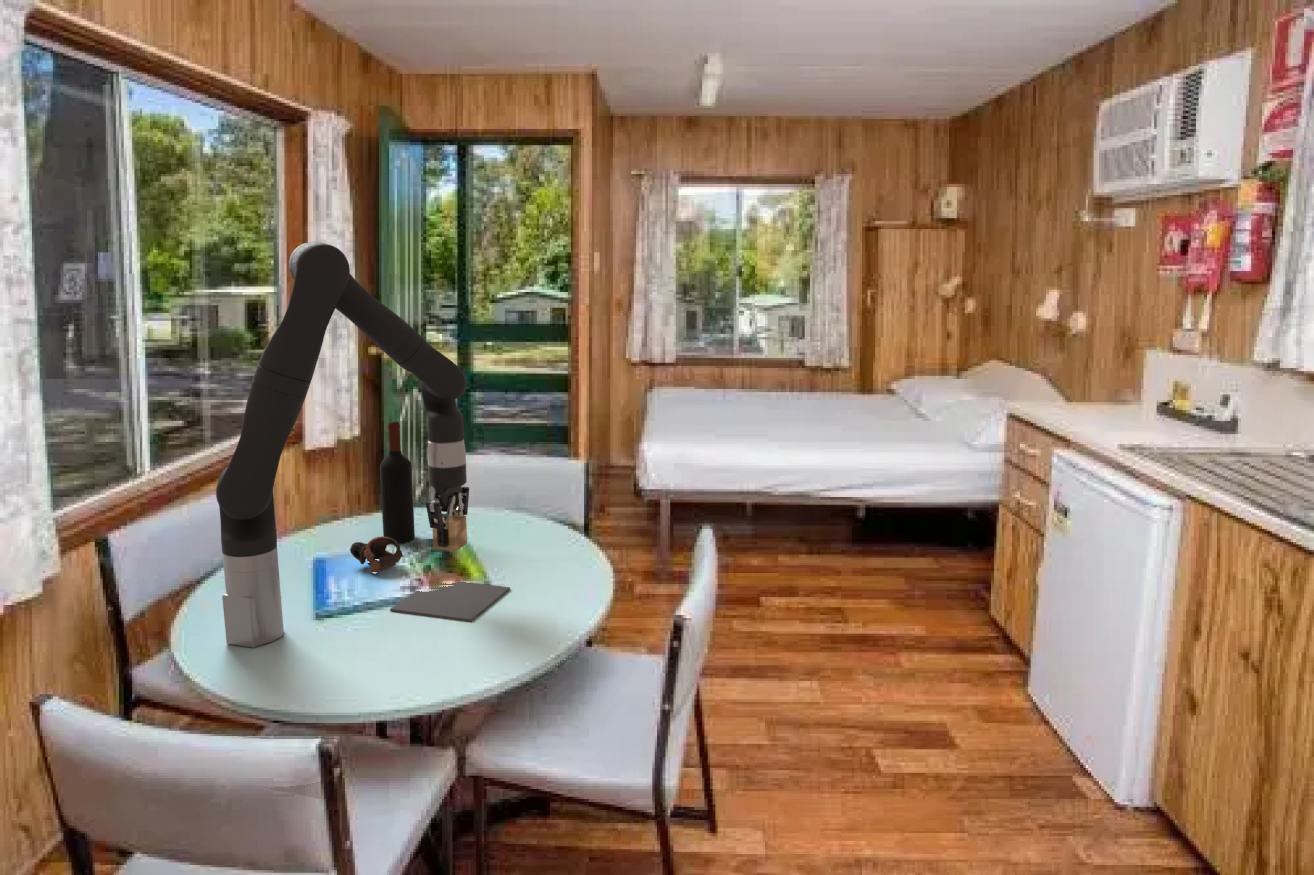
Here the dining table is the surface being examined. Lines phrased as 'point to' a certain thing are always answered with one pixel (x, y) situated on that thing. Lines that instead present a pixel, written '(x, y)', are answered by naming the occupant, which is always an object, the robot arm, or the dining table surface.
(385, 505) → the wine bottle
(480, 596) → the charcoal mat
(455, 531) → the oak block
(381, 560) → the brown hollow rounded piece
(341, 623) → the dining table surface
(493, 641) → the dining table surface
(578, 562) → the dining table surface
